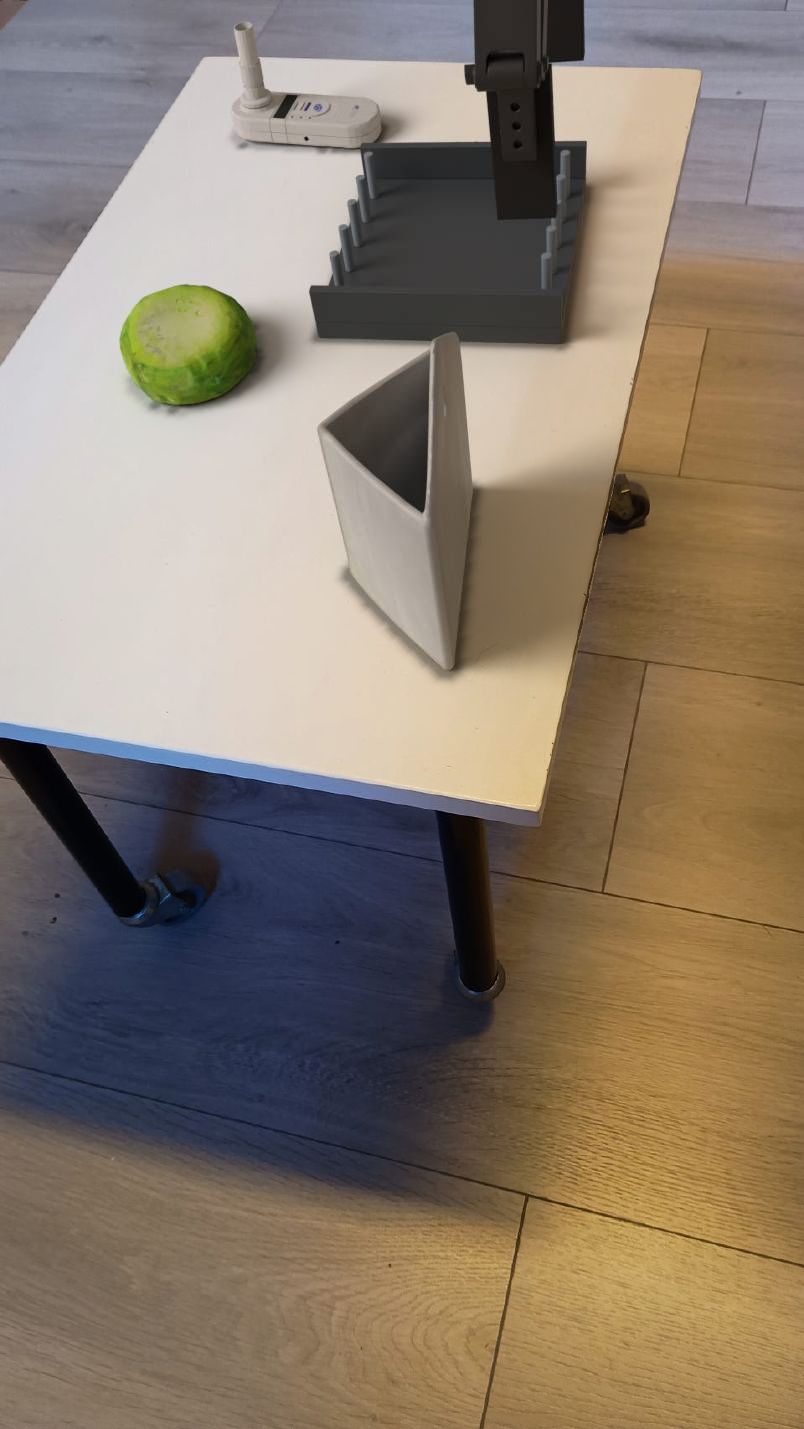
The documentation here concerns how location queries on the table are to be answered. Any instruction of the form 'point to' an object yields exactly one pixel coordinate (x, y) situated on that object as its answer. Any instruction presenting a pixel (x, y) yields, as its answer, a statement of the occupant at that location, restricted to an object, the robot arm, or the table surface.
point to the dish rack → (449, 250)
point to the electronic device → (297, 109)
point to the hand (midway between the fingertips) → (543, 132)
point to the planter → (407, 493)
